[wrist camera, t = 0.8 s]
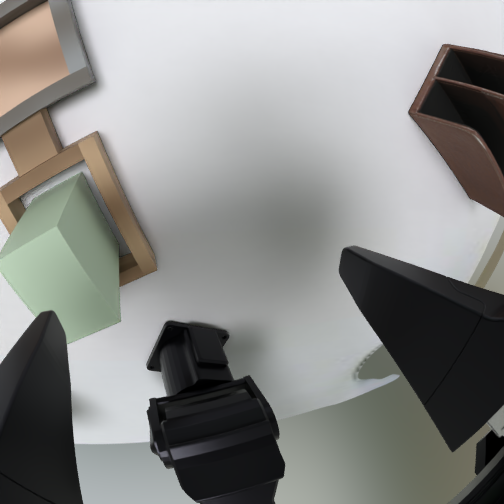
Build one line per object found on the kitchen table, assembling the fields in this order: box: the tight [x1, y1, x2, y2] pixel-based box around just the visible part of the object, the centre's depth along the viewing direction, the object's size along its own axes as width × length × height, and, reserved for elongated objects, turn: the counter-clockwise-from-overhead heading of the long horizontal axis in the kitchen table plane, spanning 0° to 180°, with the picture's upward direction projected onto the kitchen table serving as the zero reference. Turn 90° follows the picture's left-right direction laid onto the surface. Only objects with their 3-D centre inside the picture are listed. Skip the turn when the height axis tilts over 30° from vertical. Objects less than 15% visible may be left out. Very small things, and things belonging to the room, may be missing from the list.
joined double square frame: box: [0, 0, 157, 287], centre depth 14 cm, size 21×10×2 cm, turn 14°
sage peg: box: [0, 172, 121, 344], centre depth 15 cm, size 6×4×8 cm, turn 14°
